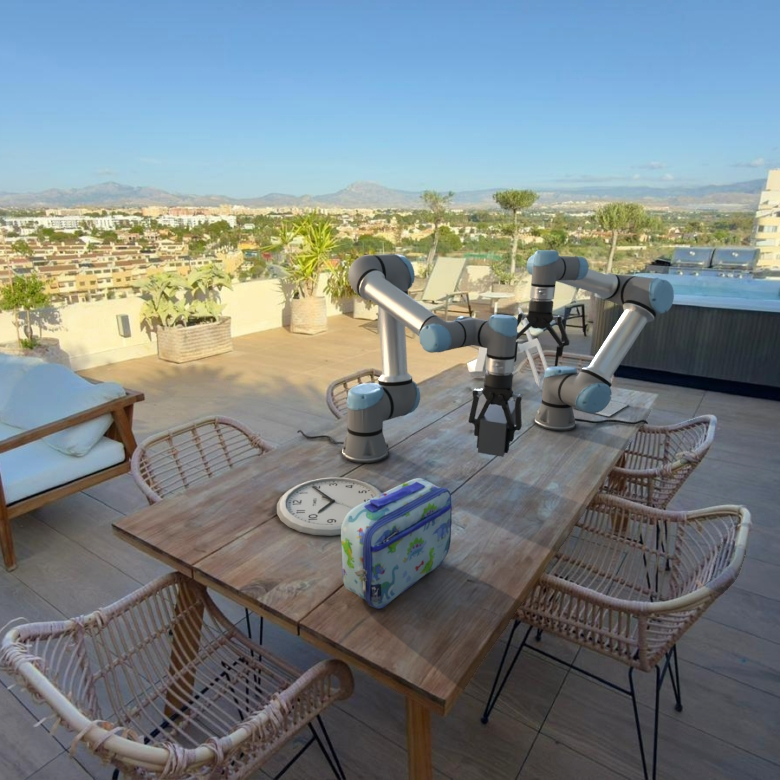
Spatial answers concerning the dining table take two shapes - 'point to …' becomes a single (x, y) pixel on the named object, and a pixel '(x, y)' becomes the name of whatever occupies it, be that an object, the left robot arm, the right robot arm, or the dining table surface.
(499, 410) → the box
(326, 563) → the dining table surface
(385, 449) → the left robot arm
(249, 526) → the dining table surface
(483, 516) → the dining table surface
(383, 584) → the lunch box
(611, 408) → the invitation card
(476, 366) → the white plastic object
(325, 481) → the wall clock
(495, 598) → the dining table surface
